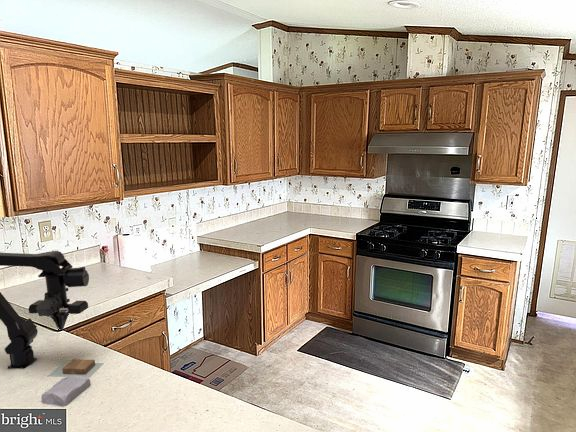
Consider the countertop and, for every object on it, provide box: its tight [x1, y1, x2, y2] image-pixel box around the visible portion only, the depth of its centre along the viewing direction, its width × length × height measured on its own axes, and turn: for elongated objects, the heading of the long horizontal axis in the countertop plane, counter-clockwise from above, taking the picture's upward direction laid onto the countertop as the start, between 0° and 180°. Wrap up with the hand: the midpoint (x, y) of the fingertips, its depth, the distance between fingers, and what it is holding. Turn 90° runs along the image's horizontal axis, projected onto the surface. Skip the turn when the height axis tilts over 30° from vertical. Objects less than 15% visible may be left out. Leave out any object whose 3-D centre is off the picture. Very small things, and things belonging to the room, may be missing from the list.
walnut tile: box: [62, 358, 96, 375], centre depth 139 cm, size 2×6×8 cm
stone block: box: [41, 376, 91, 407], centre depth 126 cm, size 12×5×10 cm
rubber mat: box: [47, 361, 105, 379], centre depth 139 cm, size 15×9×1 cm, turn 86°
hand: (61, 329), depth 144 cm, fingers closed
